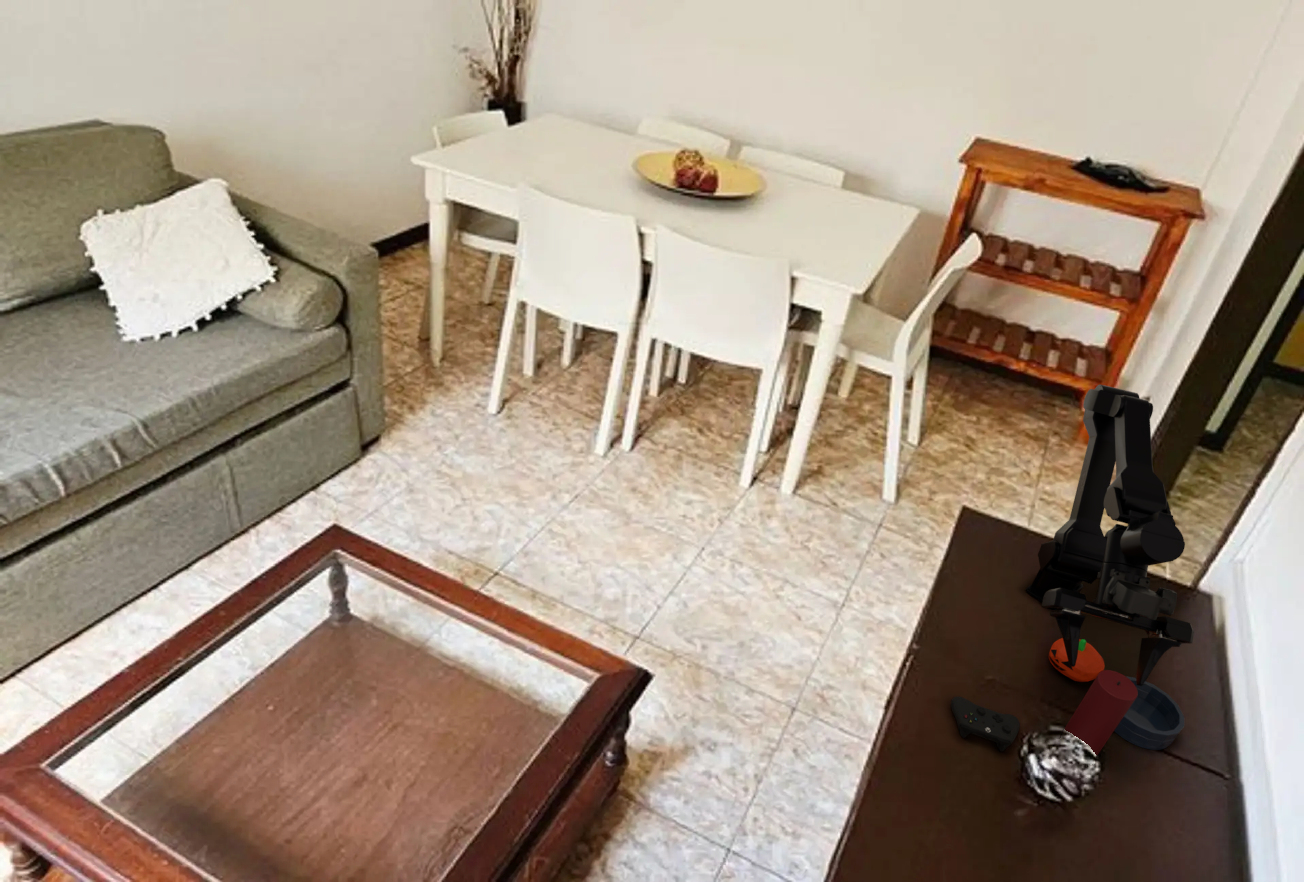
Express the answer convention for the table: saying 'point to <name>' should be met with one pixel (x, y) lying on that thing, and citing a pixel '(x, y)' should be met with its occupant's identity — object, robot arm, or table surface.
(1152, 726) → the blue round dish
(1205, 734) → the table surface
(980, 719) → the gaming controller
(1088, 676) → the pumpkin
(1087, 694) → the candle
